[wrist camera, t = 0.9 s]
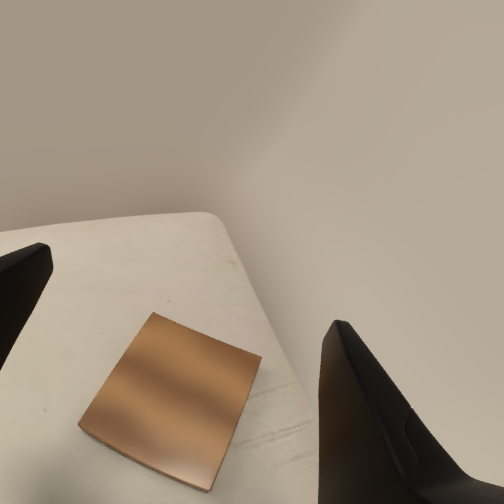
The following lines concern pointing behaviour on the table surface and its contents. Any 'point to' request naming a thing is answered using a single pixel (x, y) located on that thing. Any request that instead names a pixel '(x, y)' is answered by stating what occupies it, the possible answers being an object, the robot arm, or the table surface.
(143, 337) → the trivet
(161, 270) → the table surface
